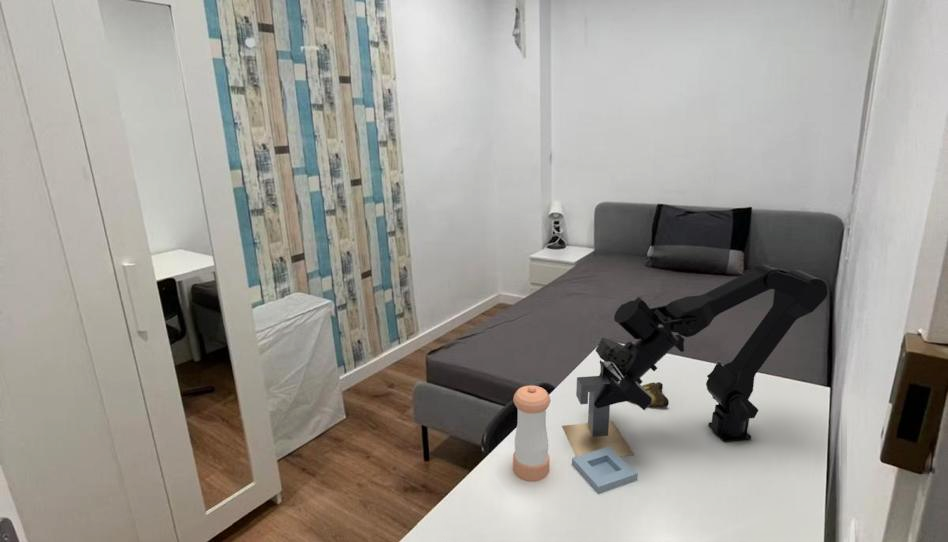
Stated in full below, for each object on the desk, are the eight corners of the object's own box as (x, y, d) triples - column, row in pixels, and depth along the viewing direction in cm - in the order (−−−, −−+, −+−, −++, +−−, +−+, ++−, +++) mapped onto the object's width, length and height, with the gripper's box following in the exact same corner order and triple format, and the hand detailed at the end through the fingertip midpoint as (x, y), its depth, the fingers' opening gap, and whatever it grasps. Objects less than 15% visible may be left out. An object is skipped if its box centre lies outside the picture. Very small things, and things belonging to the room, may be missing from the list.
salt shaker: (507, 464, 105) (506, 381, 99) (538, 455, 107) (539, 374, 101) (522, 487, 98) (523, 400, 92) (556, 477, 101) (558, 392, 95)
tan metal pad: (612, 423, 117) (613, 421, 117) (634, 457, 106) (634, 454, 105) (561, 427, 116) (561, 425, 116) (577, 462, 104) (577, 460, 104)
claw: (679, 401, 125) (680, 388, 125) (655, 417, 120) (656, 404, 119) (614, 372, 141) (614, 361, 140) (589, 385, 135) (590, 374, 134)
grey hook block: (603, 426, 112) (605, 375, 108) (608, 435, 108) (611, 383, 105) (575, 428, 111) (576, 377, 107) (579, 438, 108) (581, 385, 104)
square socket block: (608, 454, 107) (609, 446, 106) (636, 481, 99) (637, 473, 98) (571, 466, 103) (572, 458, 103) (598, 495, 96) (598, 486, 95)
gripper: (606, 310, 112) (556, 358, 114) (639, 348, 94) (579, 404, 97) (639, 340, 115) (589, 387, 117) (677, 382, 97) (617, 436, 100)
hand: (593, 401), depth 108 cm, fingers closed on grey hook block, 3 cm apart
